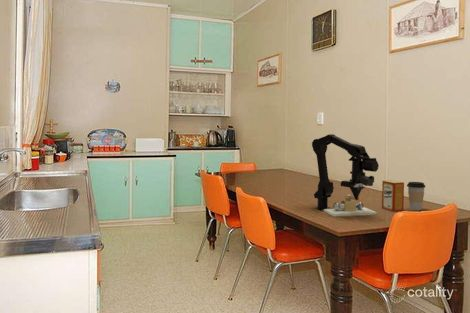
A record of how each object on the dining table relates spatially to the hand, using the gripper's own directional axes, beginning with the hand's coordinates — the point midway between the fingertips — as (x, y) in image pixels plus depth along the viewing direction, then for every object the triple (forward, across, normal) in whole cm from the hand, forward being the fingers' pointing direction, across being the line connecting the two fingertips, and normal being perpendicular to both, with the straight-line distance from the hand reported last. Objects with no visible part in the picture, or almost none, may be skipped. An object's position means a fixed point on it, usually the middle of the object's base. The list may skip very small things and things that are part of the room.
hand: (356, 199), depth 212 cm
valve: (+7, +3, +7) cm, 11 cm away
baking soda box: (+7, +28, -2) cm, 29 cm away
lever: (+1, +2, +3) cm, 4 cm away
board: (+8, +2, +6) cm, 10 cm away
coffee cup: (+7, +38, -9) cm, 40 cm away
